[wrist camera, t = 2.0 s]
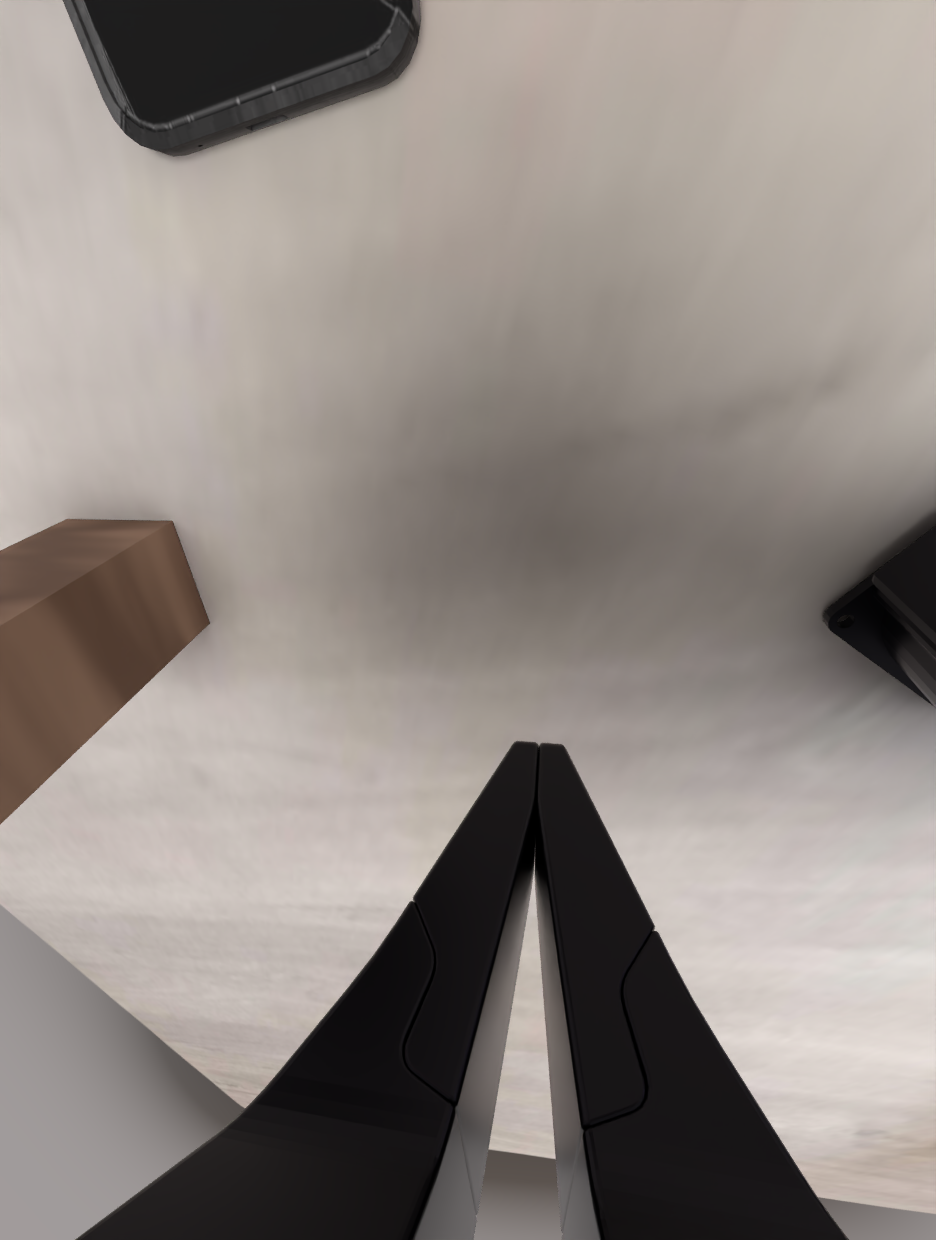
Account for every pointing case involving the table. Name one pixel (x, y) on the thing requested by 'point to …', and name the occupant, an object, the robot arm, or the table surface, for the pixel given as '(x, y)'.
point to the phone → (236, 61)
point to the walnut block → (83, 636)
